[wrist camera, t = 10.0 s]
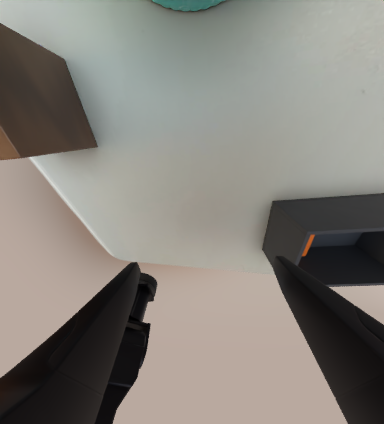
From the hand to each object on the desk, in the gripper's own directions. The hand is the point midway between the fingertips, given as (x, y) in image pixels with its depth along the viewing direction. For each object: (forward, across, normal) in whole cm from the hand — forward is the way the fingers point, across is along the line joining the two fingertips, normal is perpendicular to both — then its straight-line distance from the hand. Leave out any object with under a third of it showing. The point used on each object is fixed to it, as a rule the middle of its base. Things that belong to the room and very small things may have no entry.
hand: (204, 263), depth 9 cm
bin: (+13, -19, +8) cm, 24 cm away
